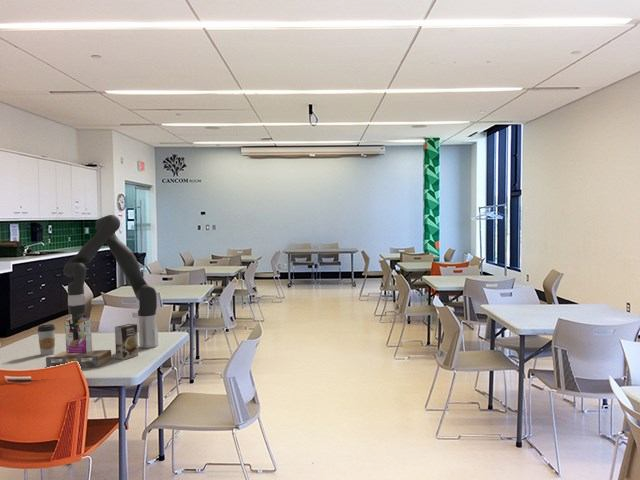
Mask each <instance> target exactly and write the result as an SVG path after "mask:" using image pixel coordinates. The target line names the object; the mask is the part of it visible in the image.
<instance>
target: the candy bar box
mask: <svg viewBox="0 0 640 480" xmlns="http://www.w3.org/2000/svg"><path fill="white" fill-rule="evenodd" d="M71 319H72V317H71V318H70V317H69V318H67V319H64V331H65V346H66V347H65V350H66V351H65V352H66V353H81V354H87V353H89V352H92V351H93V342H92V338H93V337H92V319H91V318H87V317H86V318H83V319H81V320H78V322H77V324H76V325H78V324H79V327H78V340H73V332H70V326H69V320H71Z"/></svg>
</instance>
